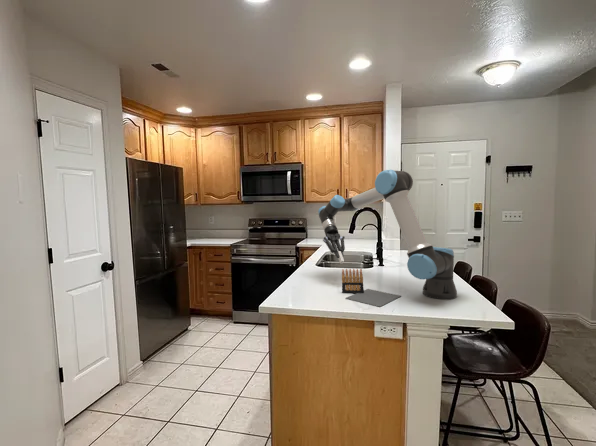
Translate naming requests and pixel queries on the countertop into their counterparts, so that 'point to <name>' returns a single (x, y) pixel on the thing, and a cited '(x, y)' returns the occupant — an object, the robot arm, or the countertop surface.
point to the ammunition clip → (351, 285)
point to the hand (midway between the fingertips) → (342, 262)
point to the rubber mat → (373, 297)
